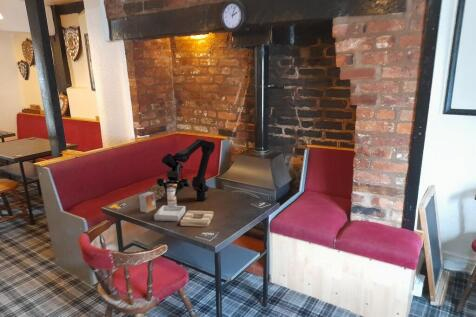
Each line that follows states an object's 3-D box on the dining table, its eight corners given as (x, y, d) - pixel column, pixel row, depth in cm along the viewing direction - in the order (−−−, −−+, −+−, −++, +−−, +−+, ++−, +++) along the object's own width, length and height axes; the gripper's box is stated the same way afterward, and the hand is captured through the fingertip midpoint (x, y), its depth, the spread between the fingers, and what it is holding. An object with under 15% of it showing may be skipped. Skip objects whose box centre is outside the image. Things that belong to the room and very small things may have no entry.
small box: (146, 213, 204) (145, 196, 201) (140, 211, 206) (138, 195, 204) (156, 208, 210) (155, 192, 208) (149, 207, 213) (148, 191, 211)
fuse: (169, 204, 198) (168, 187, 195) (178, 204, 197) (176, 187, 195) (166, 207, 193) (165, 189, 191) (175, 207, 192) (174, 190, 190)
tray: (163, 210, 206) (162, 205, 206) (185, 211, 205) (185, 206, 204) (154, 220, 193) (154, 214, 192) (178, 221, 191) (178, 215, 190)
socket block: (188, 214, 200) (188, 210, 200) (213, 215, 198) (213, 211, 197) (180, 225, 186) (180, 221, 185) (207, 226, 184) (207, 222, 183)
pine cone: (159, 195, 234) (157, 181, 231) (170, 197, 229) (168, 183, 227) (135, 206, 215) (133, 191, 213) (146, 208, 211) (145, 193, 208)
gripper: (155, 164, 195) (150, 189, 187) (187, 165, 192) (183, 190, 184) (161, 173, 204) (156, 197, 196) (192, 174, 202) (188, 198, 194)
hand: (170, 195), depth 192 cm, fingers closed on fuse, 5 cm apart
